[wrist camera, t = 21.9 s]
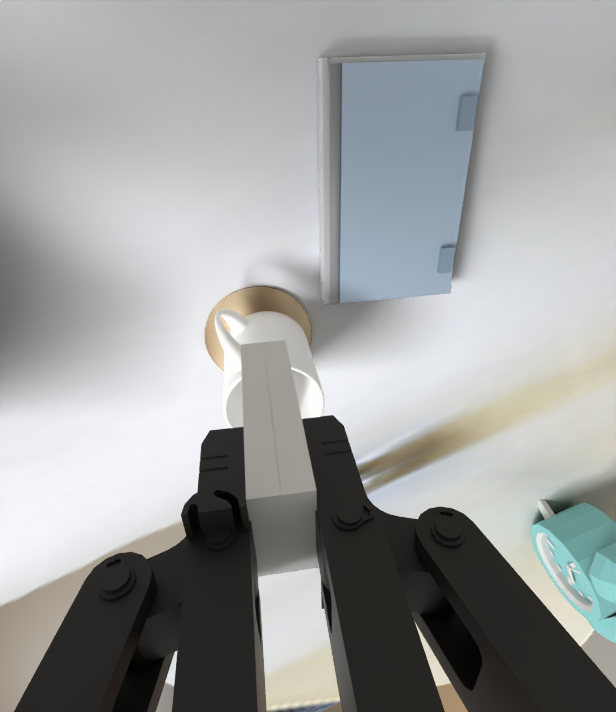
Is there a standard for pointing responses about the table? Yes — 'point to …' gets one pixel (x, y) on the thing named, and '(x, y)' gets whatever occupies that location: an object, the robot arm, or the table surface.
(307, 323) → the coaster
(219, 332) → the mug
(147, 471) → the table surface
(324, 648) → the table surface
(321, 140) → the bracket
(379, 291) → the cover
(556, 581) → the alarm clock
